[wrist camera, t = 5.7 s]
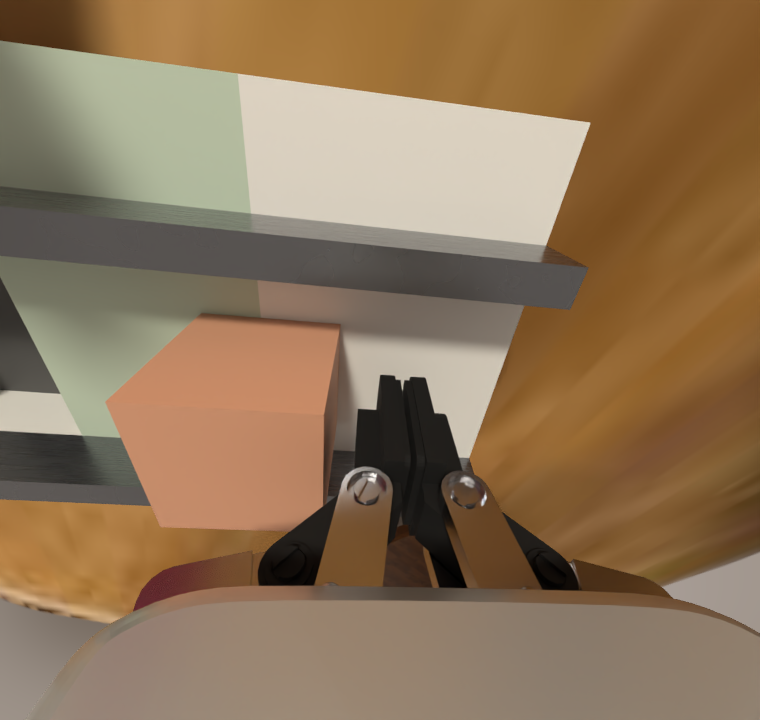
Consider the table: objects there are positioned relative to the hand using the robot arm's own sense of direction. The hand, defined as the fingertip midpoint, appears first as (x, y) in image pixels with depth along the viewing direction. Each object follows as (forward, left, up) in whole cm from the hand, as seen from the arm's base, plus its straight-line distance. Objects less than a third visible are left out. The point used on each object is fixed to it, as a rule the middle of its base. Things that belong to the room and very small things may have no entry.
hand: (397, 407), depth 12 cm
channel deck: (+8, 0, -5) cm, 9 cm away
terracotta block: (+5, 0, -2) cm, 5 cm away
